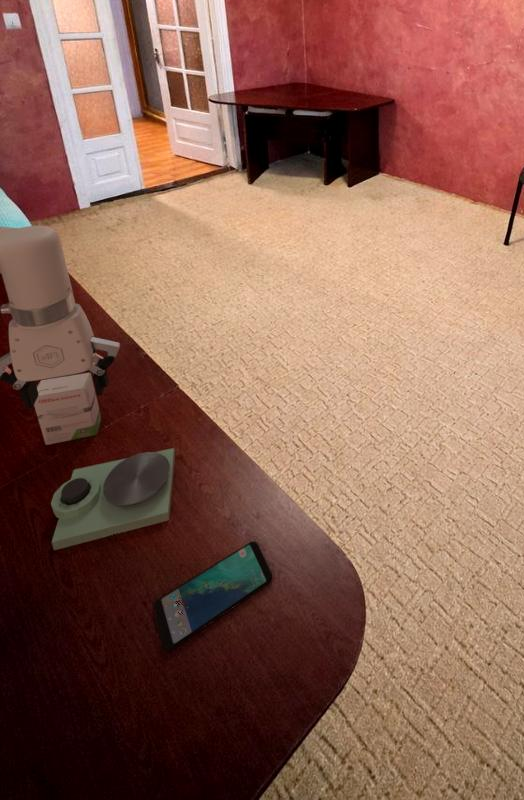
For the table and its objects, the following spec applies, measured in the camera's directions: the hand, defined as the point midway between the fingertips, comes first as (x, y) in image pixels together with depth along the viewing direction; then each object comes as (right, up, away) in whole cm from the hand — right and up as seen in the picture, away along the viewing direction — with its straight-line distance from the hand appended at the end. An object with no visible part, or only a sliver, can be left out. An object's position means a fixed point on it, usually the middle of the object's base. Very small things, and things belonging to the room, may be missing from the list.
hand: (68, 396), depth 78 cm
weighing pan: (+10, -15, +3) cm, 18 cm away
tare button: (+1, -16, 0) cm, 16 cm away
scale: (+7, -19, +3) cm, 20 cm away
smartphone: (+28, -25, -10) cm, 38 cm away
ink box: (-9, -13, +15) cm, 22 cm away
